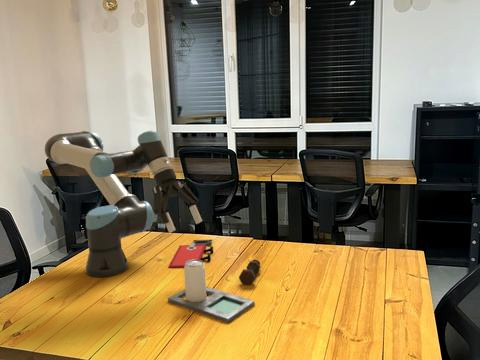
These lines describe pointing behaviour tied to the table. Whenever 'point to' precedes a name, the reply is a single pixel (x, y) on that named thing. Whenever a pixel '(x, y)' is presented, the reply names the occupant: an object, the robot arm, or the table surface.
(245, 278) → the bolt
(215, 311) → the grey flat frame
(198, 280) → the can
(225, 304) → the pad
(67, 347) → the table surface
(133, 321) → the table surface
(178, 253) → the red board with handle
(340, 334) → the table surface
